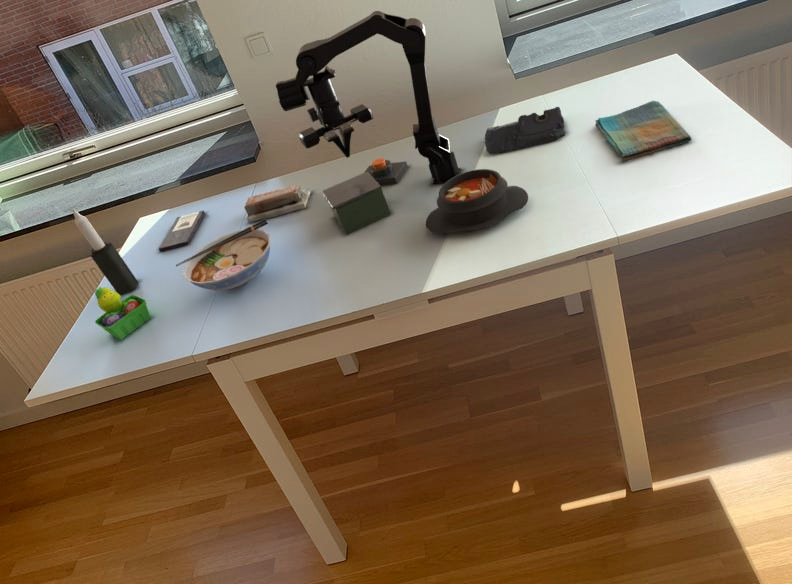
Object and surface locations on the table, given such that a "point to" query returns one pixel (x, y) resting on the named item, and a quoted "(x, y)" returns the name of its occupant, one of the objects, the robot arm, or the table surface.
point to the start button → (379, 164)
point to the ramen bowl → (229, 259)
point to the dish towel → (642, 130)
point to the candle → (107, 258)
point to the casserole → (474, 202)
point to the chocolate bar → (182, 231)
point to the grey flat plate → (350, 190)
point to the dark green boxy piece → (362, 211)
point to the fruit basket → (120, 312)
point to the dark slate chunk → (525, 132)
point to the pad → (388, 172)
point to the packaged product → (276, 203)
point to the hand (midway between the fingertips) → (348, 156)
